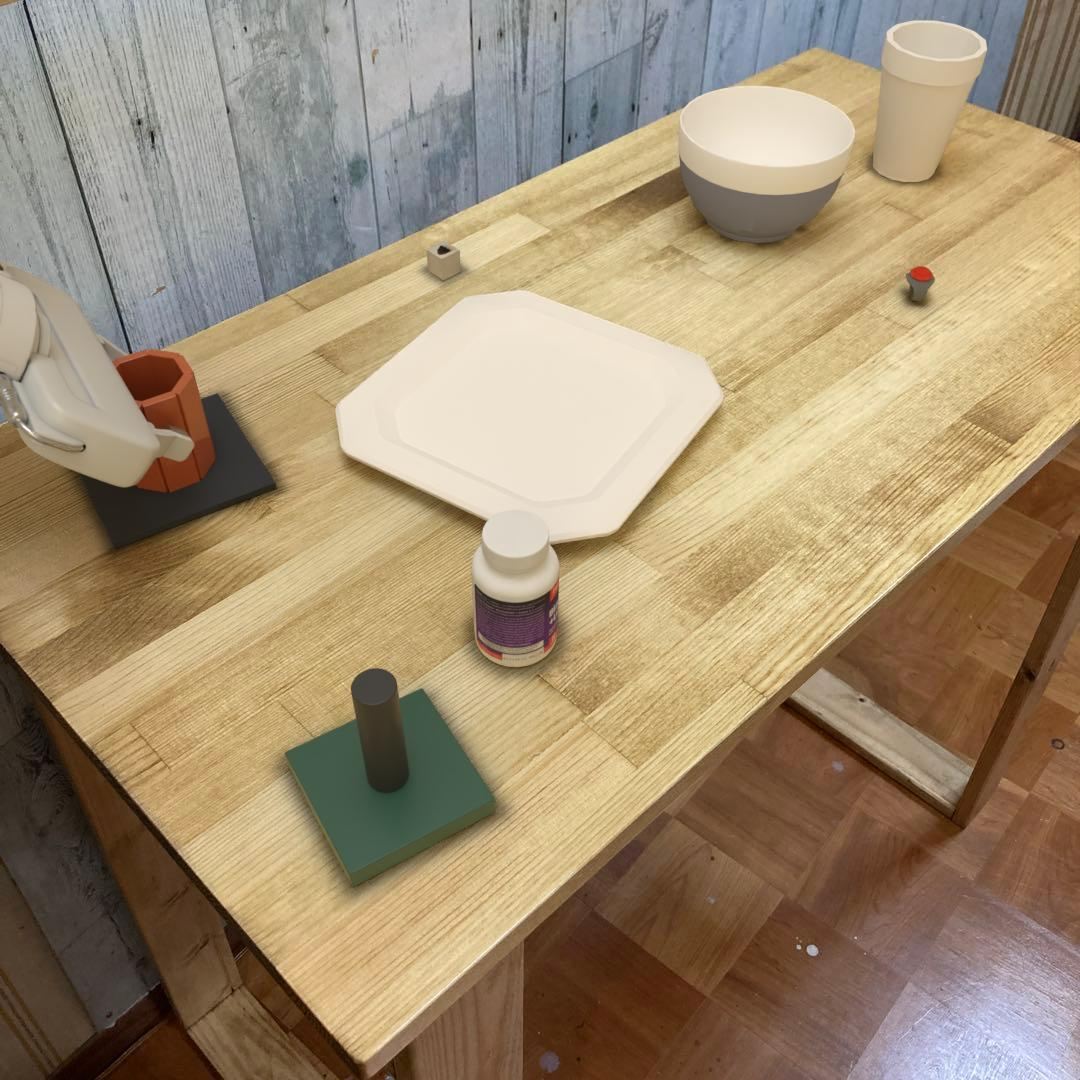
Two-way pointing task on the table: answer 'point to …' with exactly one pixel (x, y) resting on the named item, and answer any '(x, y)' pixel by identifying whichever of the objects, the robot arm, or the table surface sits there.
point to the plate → (531, 413)
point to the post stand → (388, 779)
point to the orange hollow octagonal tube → (169, 414)
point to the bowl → (762, 159)
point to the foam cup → (922, 94)
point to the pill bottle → (515, 590)
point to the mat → (223, 485)
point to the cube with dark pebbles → (443, 260)
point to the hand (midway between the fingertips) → (164, 410)
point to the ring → (919, 282)
